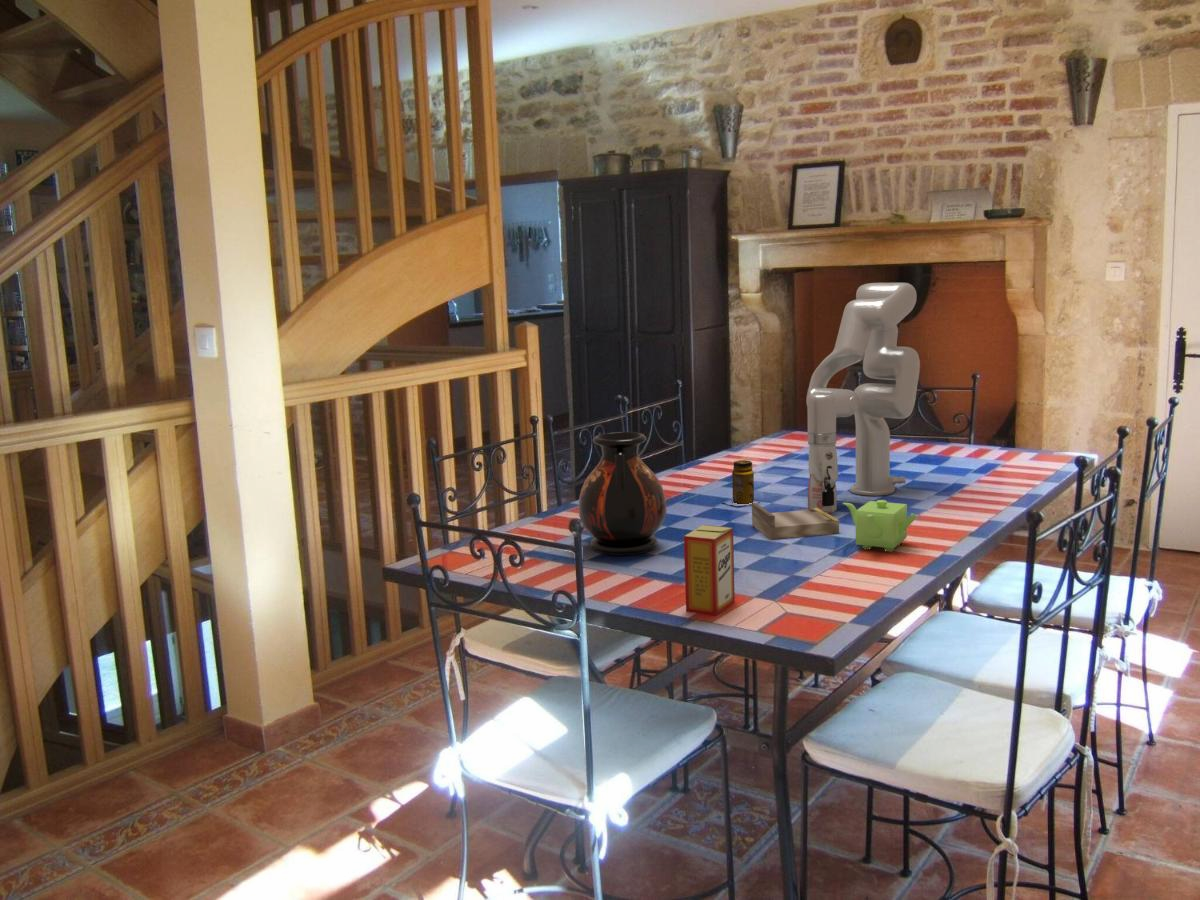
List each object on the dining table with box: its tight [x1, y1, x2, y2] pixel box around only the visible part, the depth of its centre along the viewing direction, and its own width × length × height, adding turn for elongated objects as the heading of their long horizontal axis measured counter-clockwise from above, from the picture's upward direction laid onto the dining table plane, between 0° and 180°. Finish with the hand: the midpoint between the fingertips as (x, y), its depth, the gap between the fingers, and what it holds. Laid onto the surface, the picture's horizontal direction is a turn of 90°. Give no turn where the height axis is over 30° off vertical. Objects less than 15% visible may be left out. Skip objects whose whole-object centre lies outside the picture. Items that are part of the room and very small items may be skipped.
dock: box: [751, 503, 840, 540], centre depth 266 cm, size 18×14×6 cm
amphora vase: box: [577, 431, 667, 556], centre depth 254 cm, size 22×22×28 cm
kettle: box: [842, 499, 918, 552], centre depth 247 cm, size 15×14×11 cm
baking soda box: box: [683, 524, 736, 616], centre depth 210 cm, size 10×6×16 cm
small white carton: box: [807, 474, 838, 514], centre depth 283 cm, size 4×7×10 cm, turn 58°
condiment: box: [731, 459, 755, 504], centre depth 295 cm, size 7×8×12 cm
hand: (822, 502), depth 284 cm, fingers closed on small white carton, 7 cm apart
